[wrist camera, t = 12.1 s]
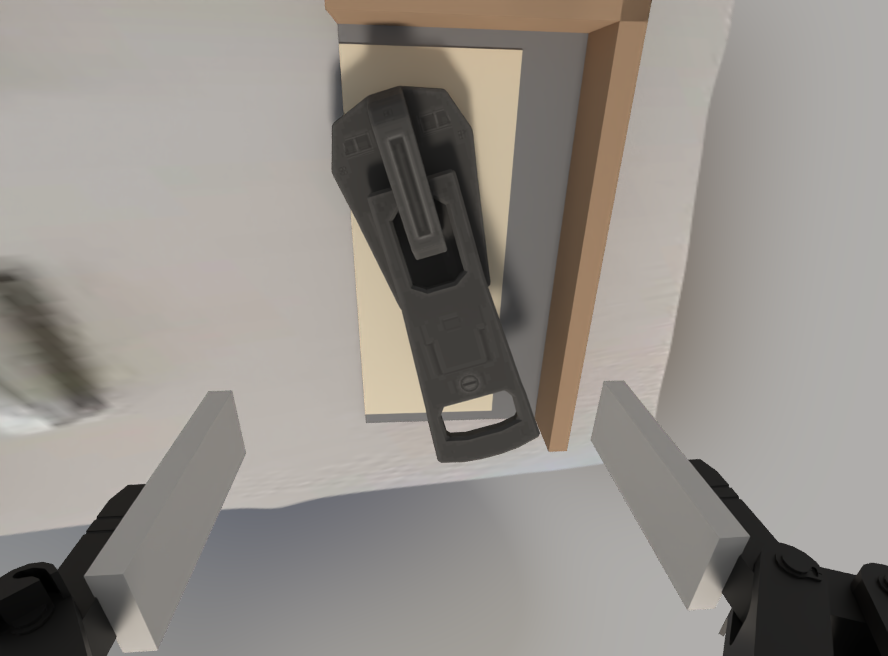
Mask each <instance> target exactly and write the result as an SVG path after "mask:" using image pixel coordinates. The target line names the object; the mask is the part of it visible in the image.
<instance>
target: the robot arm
mask: <svg viewBox="0 0 888 656" xmlns="http://www.w3.org/2000/svg"><path fill="white" fill-rule="evenodd" d="M591 441H592V443H593V445H594V447H595V448H596V450H597V452H598V454H599V455H600V457H601V459H602V461H603V463H604V464H605V466H606V468H607V469H608V471H609V473H610V475H611V477H612V478H613V480H614V482H615V484H616V485H617V487H618V489H619V491H620V492H621V494H622V496H623V498H624V499H625V501H626V503H627V505H628V506H629V508H630V510H631V512H632V514H633V515H634V517H635V519H636V521H637V522H638V524H639V526H640V528H641V529H642V531H643V533H644V535H645V536H646V538H647V540H648V542H649V543H650V545H651V547H652V549H653V550H654V552H655V554H656V556H657V558H658V559H659V561H660V563H661V565H662V566H663V568H664V570H665V572H666V573H667V575H668V577H669V579H670V580H671V582H672V584H673V586H674V588H675V589H676V591H677V593H678V595H679V596H680V598H681V600H682V602H683V603H684V605H685V607H686V609H687V610H701V609H714V608H716V606H717V603H718V602H719V599H720V597H721V595H722V594H723V595H724V597H725V598H726V600H727V601H728V603H729V604H730V606H731V607H732V609H731V610H730V613H729V614H728V616H727V618H726V620H725V622H724V624H723V626H722V628H721V630H720V632H719V634H721V635H722V636H724V635H725V633H726V635H725V643H724V651H723V656H888V566H886V565H883V564H877V563H869V564H865V565H863V566H862V568H861V569H860V571H859V572H858V574H857V575H853V574H849V573H843V572H840V571H835V570H830V569H826V568H822V567H820V566H819V565H818V564H817V562H816V561H814V560H813V559H812V558H811V557H809V556H808V555H807V554H806V553H804V552H802V551H800V550H798V549H797V548H795V547H793V546H790V545H787V544H784V543H779V542H778V541H777V540H776V539H775V538H774V537H773V535H772V534H771V533H770V532H769V531H768V530H767V528H766V527H765V526H764V525H763V524H762V523H761V521H760V520H759V519H758V518H757V517H756V516H755V515H754V513H752V511H751V510H750V509H749V508H748V506H747V505H746V504H745V503H744V502H743V501H742V500H741V499H739V496H738V495H737V494H736V493H735V492H734V490H733V489H732V488H729V484H728V483H727V482H726V481H725V480H724V479H723V478H722V476H721V475H720V474H719V473H718V472H717V471H716V470H715V469H713V468H711V467H710V466H709V465H708V464H706V463H705V462H703V461H702V460H701V459H695V460H688V459H687V458H686V457H685V455H684V454H683V453H682V452H681V451H680V449H679V448H678V447H677V446H676V444H675V443H674V442H673V441H672V439H671V438H670V437H669V436H668V434H667V433H666V432H665V431H664V430H663V428H662V427H661V426H660V425H659V423H658V422H657V421H656V420H655V418H654V417H653V416H652V415H651V413H650V412H649V411H648V410H647V409H646V407H645V406H644V405H643V404H642V402H641V401H640V400H639V399H638V397H637V396H636V395H635V394H634V393H633V391H632V390H631V389H630V388H629V386H628V385H627V384H626V383H625V381H604V382H603V387H602V391H601V396H600V400H599V405H598V409H597V414H596V418H595V423H594V427H593V432H592V436H591ZM245 454H246V451H245V446H244V442H243V437H242V433H241V428H240V424H239V419H238V415H237V410H236V406H235V401H234V397H233V392H232V391H208V393H207V394H206V396H205V397H204V399H203V400H202V402H201V403H200V405H199V406H198V408H197V409H196V411H195V412H194V414H193V415H192V417H191V418H190V420H189V421H188V423H187V424H186V426H185V427H184V429H183V430H182V431H181V433H180V434H179V436H178V437H177V439H176V440H175V442H174V443H173V445H172V446H171V448H170V449H169V451H168V452H167V454H166V455H165V457H164V458H163V460H162V461H161V463H160V464H159V466H158V467H157V469H156V470H155V471H154V473H153V474H152V476H151V477H150V479H149V480H148V482H147V483H146V484H138V485H127V486H126V487H125V488H124V489H122V490H121V491H120V492H119V493H117V494H116V495H115V496H114V497H112V498H111V499H110V500H109V501H108V502H107V504H106V505H105V506H104V508H103V509H102V511H101V512H100V513H99V515H98V516H97V519H96V520H94V521H93V523H92V524H91V525H90V527H89V528H88V530H87V531H86V534H85V535H83V536H82V538H81V539H80V540H79V542H78V543H77V544H76V546H75V547H74V548H73V550H72V551H71V552H70V554H69V555H68V556H67V558H66V559H65V560H64V562H63V563H62V565H61V566H60V567H59V569H58V570H57V569H56V568H55V566H54V565H53V564H49V563H45V562H39V563H31V564H27V565H25V566H22V567H19V568H17V569H14V570H12V571H10V572H8V573H7V574H5V575H3V576H2V577H0V656H107V654H108V652H109V650H110V648H111V647H112V645H113V643H114V641H115V639H116V640H117V642H118V644H119V646H120V648H121V649H122V651H123V653H126V652H140V651H153V650H158V649H159V646H160V644H161V642H162V640H163V638H164V635H165V633H166V631H167V629H168V626H169V624H170V621H171V620H172V617H173V615H174V612H175V610H176V608H177V606H178V604H179V602H180V599H181V597H182V595H183V593H184V591H185V588H186V586H187V584H188V582H189V579H190V577H191V575H192V573H193V570H194V568H195V566H196V564H197V561H198V559H199V557H200V555H201V553H202V550H203V548H204V546H205V543H206V541H207V539H208V537H209V535H210V532H211V530H212V528H213V526H214V523H215V521H216V519H217V517H218V514H219V512H220V510H221V508H222V506H223V503H224V501H225V499H226V497H227V494H228V492H229V490H230V488H231V485H232V483H233V481H234V479H235V477H236V474H237V472H238V470H239V468H240V465H241V463H242V461H243V459H244V456H245Z"/></svg>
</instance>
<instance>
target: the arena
mask: <svg viewBox="0 0 888 656" xmlns="http://www.w3.org/2000/svg"><path fill="white" fill-rule="evenodd" d="M651 2H652V0H325V9H326V10H327V11H328V13H329V14H330V15H331V16H332V17H333V19H334V20H335V21H336V22H337V24H338V37H339V54H340V68H341V82H342V96H343V110H344V114H346V113H347V112H348V111H349V110H351V109H352V108H353V107H354V106H356V105H357V104H358V103H359V102H360V101H362V100H363V99H364V98H365V97H367V96H368V95H371V94H374V93H377V92H380V91H383V90H387V89H390V88H393V87H396V86H412V87H426V88H442V89H445V90H446V91H447V92H448V94H449V95H450V97H451V98H452V100H453V101H454V102H455V104H456V105H457V107H458V108H459V110H460V111H461V113H462V114H463V115H464V117H465V118H466V120H467V121H468V123H469V124H470V126H471V127H472V130H473V137H474V146H475V156H476V165H477V174H478V183H479V191H480V199H481V208H482V216H483V224H484V232H485V240H486V248H487V256H488V265H489V273H490V281H491V283H490V286H489V287H488V288H489V290H490V293H491V296H492V299H493V302H494V305H495V308H496V310H497V313H498V316H499V319H500V322H501V325H502V328H503V330H504V333H505V336H506V339H507V342H508V345H509V347H510V350H511V353H512V356H513V359H514V362H515V365H516V367H517V370H518V373H519V376H520V379H521V382H522V384H523V387H524V389H525V392H526V394H527V397H528V400H529V403H530V406H531V409H532V412H533V415H534V418H535V420H536V422H537V425H538V427H539V429H540V432H541V434H542V437H543V439H544V441H545V444H546V446H547V449H548V451H549V452H553V451H567V447H568V442H569V436H570V431H571V426H572V421H573V415H574V410H575V405H576V399H577V394H578V389H579V383H580V378H581V373H582V367H583V362H584V357H585V352H586V346H587V341H588V336H589V330H590V325H591V320H592V314H593V309H594V304H595V299H596V293H597V288H598V283H599V277H600V272H601V267H602V261H603V256H604V251H605V246H606V240H607V235H608V230H609V224H610V219H611V214H612V208H613V203H614V198H615V193H616V187H617V182H618V177H619V171H620V166H621V161H622V155H623V150H624V145H625V140H626V134H627V129H628V124H629V118H630V113H631V108H632V102H633V97H634V92H635V87H636V81H637V76H638V71H639V65H640V60H641V55H642V49H643V44H644V39H645V33H646V28H647V23H648V18H649V12H650V7H651ZM351 222H352V236H353V250H354V264H355V278H356V292H357V306H358V320H359V334H360V348H361V362H362V376H363V391H364V405H365V417H366V423H380V422H412V421H428V419H427V414H426V409H425V405H424V401H423V396H422V392H421V388H420V384H419V380H418V376H417V372H416V368H415V364H414V360H413V355H412V351H411V347H410V343H409V339H408V335H407V331H406V327H405V323H404V319H403V314H402V310H401V309H400V308H399V306H398V304H397V302H396V300H395V298H394V296H393V294H392V292H391V290H390V287H389V285H388V283H387V281H386V279H385V277H384V275H383V273H382V271H381V269H380V267H379V265H378V263H377V261H376V259H375V257H374V255H373V253H372V251H371V249H370V247H369V245H368V243H367V241H366V239H365V237H364V235H363V233H362V231H361V229H360V227H359V225H358V223H357V221H356V219H355V217H354V215H353V213H352V211H351ZM515 413H516V409H515V405H514V401H513V398H512V395H510V394H509V393H508V392H506V391H501V392H497V393H494V394H490V395H486V396H483V397H479V398H475V399H472V400H468V401H464V402H461V403H457V404H454V405H450V406H446V407H444V408H443V411H442V414H441V415H442V418H443V420H475V419H507V418H510V417H512V416H514V415H515Z"/></svg>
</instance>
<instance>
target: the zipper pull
mask: <svg viewBox="0 0 888 656" xmlns="http://www.w3.org/2000/svg"><path fill="white" fill-rule="evenodd" d="M332 174H333V176H334V178H335V180H336V182H337V184H338V186H339V188H340V190H341V191H342V193H343V195H344V197H345V199H346V201H347V203H348V205H349V207H350V209H351V211H352V213H353V215H354V217H355V219H356V221H357V223H358V225H359V227H360V229H361V231H362V233H363V235H364V237H365V239H366V241H367V243H368V245H369V247H370V249H371V251H372V253H373V255H374V257H375V259H376V261H377V263H378V265H379V267H380V269H381V271H382V273H383V275H384V277H385V279H386V281H387V283H388V285H389V287H390V290H391V292H392V294H393V296H394V298H395V300H396V302H397V304H398V306H399V308H400V309H401V310H402V314H403V319H404V323H405V327H406V331H407V335H408V339H409V343H410V347H411V351H412V355H413V360H414V364H415V368H416V372H417V376H418V380H419V384H420V388H421V392H422V396H423V401H424V405H425V409H426V414H427V419H428V423H429V427H430V431H431V435H432V439H433V443H434V447H435V451H436V455H437V459H438V461H439V462H441V463H450V462H467V461H473V460H479V459H484V458H487V457H491V456H495V455H499V454H502V453H505V452H508V451H510V450H513V449H516V448H518V447H520V446H522V445H524V444H526V443H528V442H529V441H531V440H533V439H535V438H537V437H538V436H539V434H540V432H539V429H538V426H537V423H536V420H535V418H534V415H533V412H532V409H531V406H530V403H529V400H528V397H527V394H526V392H525V389H524V387H523V384H522V382H521V379H520V376H519V373H518V370H517V367H516V365H515V362H514V359H513V356H512V353H511V350H510V347H509V345H508V342H507V339H506V336H505V333H504V330H503V328H502V325H501V322H500V319H499V316H498V313H497V310H496V308H495V305H494V302H493V299H492V296H491V293H490V290H489V288H488V287H489V286H490V283H491V281H490V273H489V265H488V256H487V248H486V240H485V232H484V224H483V216H482V208H481V199H480V191H479V183H478V174H477V165H476V156H475V146H474V137H473V130H472V127H471V126H470V124H469V123H468V121H467V120H466V118H465V117H464V115H463V114H462V113H461V111H460V110H459V108H458V107H457V105H456V104H455V102H454V101H453V100H452V98H451V97H450V95H449V94H448V92H447V91H446V90H445V89H442V88H426V87H412V86H396V87H393V88H390V89H387V90H383V91H380V92H377V93H374V94H371V95H368V96H367V97H365V98H364V99H363V100H362V101H360V102H359V103H358V104H357V105H356V106H354V107H353V108H352V109H351V110H349V111H348V112H347V113H346V114H344V115H343V116H342V117H341V118H339V119H338V120H337V121H336V122H334V124H333V126H332ZM501 391H506V392H508V393H509V394H510V395H512V398H513V401H514V405H515V409H516V413H515V415H514V416H512V417H510V418H508V419H506V420H504V421H502V422H500V423H497V424H493V425H489V426H486V427H482V428H478V429H475V430H471V431H467V432H454V433H450V432H448V431H446V428H445V424H444V421H443V418H442V415H441V414H442V411H443V408H444V407H446V406H450V405H454V404H457V403H461V402H464V401H468V400H472V399H475V398H479V397H483V396H486V395H490V394H494V393H497V392H501Z"/></svg>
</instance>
